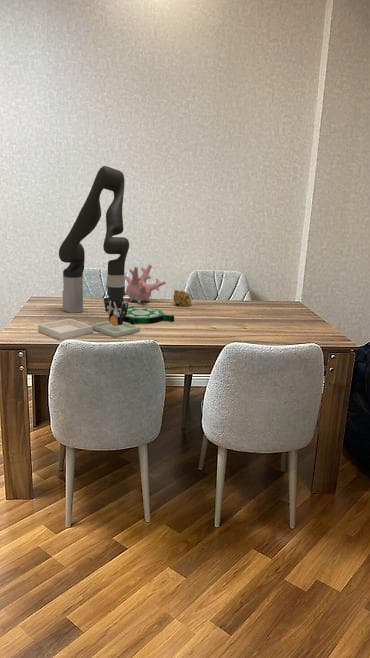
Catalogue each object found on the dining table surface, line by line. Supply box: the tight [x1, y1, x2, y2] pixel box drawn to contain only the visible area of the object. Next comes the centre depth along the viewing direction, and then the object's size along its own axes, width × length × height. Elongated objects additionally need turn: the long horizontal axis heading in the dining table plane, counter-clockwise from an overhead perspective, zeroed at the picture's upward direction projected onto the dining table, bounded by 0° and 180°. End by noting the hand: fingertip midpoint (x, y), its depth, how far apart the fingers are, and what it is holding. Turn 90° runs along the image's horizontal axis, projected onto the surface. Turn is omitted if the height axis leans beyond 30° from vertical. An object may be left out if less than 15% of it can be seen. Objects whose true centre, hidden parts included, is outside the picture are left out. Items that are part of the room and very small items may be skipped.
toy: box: [124, 264, 167, 304], centre depth 264 cm, size 18×21×20 cm
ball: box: [110, 315, 119, 326], centre depth 211 cm, size 5×5×5 cm
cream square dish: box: [37, 318, 94, 341], centre depth 206 cm, size 16×16×3 cm
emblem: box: [113, 305, 175, 325], centre depth 233 cm, size 25×3×30 cm
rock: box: [173, 289, 192, 307], centre depth 265 cm, size 12×9×10 cm
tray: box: [90, 320, 141, 338], centre depth 212 cm, size 16×14×2 cm
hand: (115, 323), depth 211 cm, fingers closed on ball, 5 cm apart
